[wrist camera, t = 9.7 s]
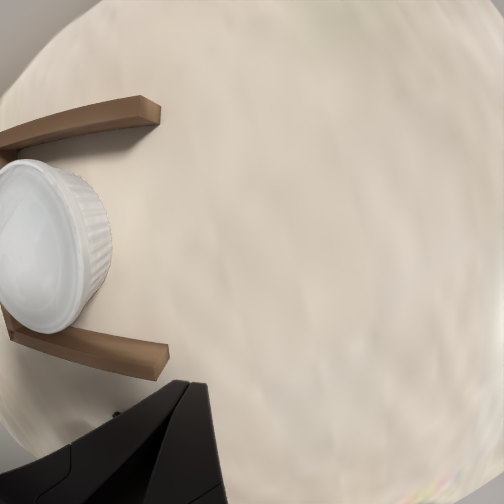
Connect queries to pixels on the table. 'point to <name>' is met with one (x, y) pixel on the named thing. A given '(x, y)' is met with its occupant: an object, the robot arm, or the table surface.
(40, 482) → the robot arm
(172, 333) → the table surface
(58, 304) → the ramekin
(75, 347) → the walnut dock
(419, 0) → the table surface
